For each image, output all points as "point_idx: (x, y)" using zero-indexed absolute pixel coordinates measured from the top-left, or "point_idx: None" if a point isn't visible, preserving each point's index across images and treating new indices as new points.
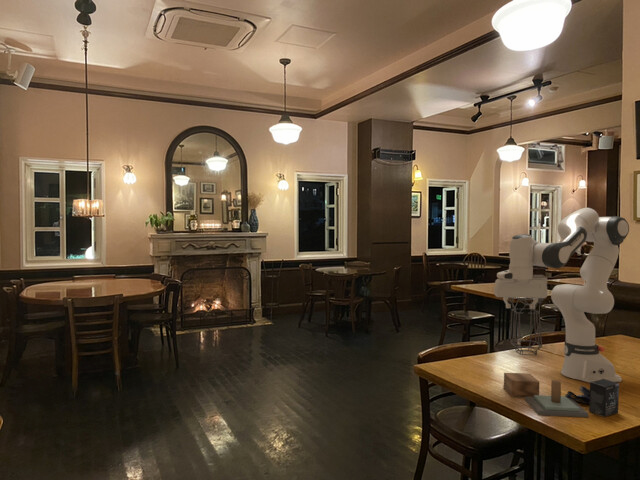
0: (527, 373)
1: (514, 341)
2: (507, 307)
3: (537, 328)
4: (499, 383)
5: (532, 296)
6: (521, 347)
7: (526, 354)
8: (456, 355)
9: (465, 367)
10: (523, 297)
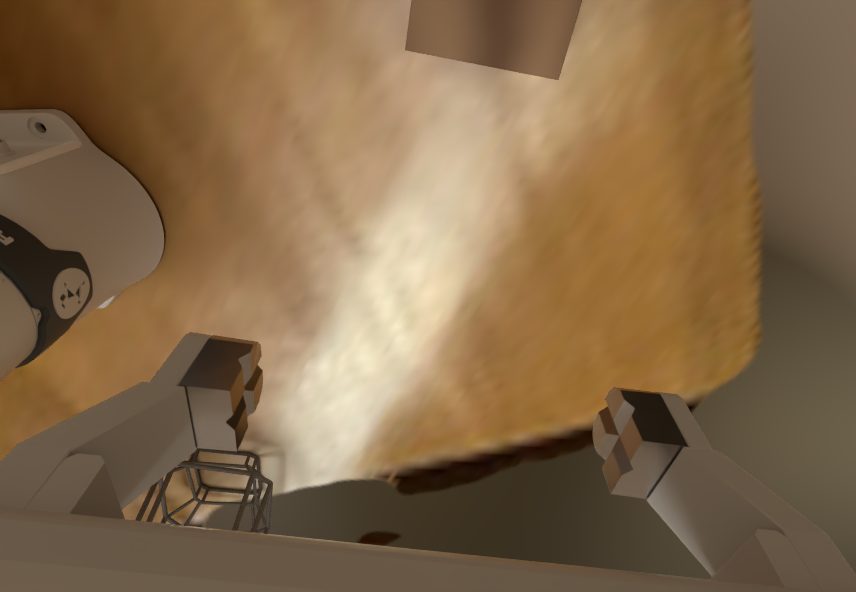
0: (421, 52)
1: (248, 531)
2: (677, 400)
3: None
4: (527, 132)
5: (105, 549)
6: (249, 472)
7: (234, 453)
8: (512, 462)
9: (559, 344)
10: (399, 549)
